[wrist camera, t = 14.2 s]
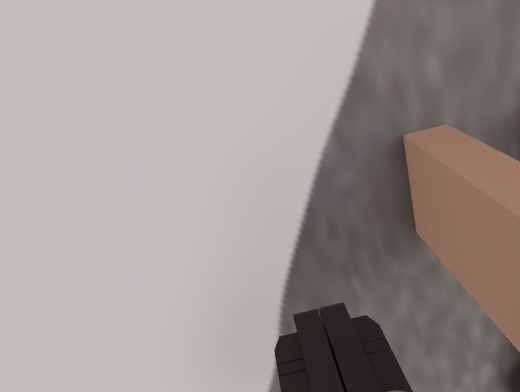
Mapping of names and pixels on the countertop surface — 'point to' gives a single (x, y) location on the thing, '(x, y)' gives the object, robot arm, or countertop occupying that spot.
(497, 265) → the terracotta domino
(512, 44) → the countertop surface
